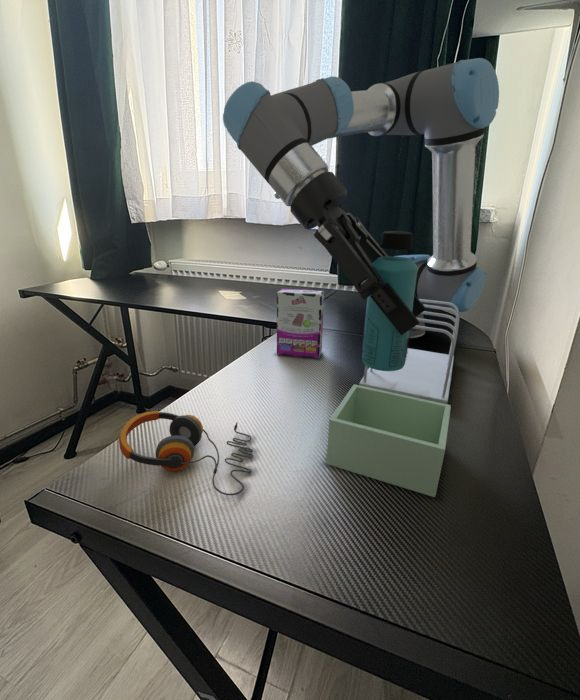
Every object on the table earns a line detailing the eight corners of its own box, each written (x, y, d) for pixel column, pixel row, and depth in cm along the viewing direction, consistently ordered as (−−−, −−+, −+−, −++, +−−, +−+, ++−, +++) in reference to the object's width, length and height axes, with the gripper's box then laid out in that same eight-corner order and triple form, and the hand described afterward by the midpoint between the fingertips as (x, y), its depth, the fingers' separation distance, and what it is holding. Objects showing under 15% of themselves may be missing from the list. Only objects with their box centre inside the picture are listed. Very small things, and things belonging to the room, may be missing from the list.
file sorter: (382, 351, 100) (389, 293, 94) (452, 363, 94) (465, 302, 88) (358, 390, 79) (365, 319, 73) (446, 409, 72) (462, 333, 67)
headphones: (250, 483, 49) (95, 448, 47) (242, 514, 50) (93, 481, 49) (263, 415, 64) (147, 387, 63) (256, 440, 66) (143, 414, 65)
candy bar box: (321, 352, 98) (325, 290, 92) (319, 359, 94) (322, 294, 88) (280, 348, 100) (281, 287, 94) (275, 355, 96) (276, 291, 90)
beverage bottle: (409, 382, 53) (433, 233, 45) (362, 381, 53) (377, 232, 45) (398, 363, 59) (417, 229, 51) (355, 362, 59) (368, 228, 51)
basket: (350, 422, 67) (353, 384, 64) (442, 446, 61) (451, 405, 58) (326, 464, 57) (329, 419, 54) (435, 497, 51) (445, 449, 48)
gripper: (316, 209, 62) (404, 318, 62) (257, 211, 45) (376, 360, 45) (350, 173, 58) (444, 290, 57) (298, 161, 41) (430, 325, 41)
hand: (414, 321), depth 51 cm, fingers closed on beverage bottle, 6 cm apart
